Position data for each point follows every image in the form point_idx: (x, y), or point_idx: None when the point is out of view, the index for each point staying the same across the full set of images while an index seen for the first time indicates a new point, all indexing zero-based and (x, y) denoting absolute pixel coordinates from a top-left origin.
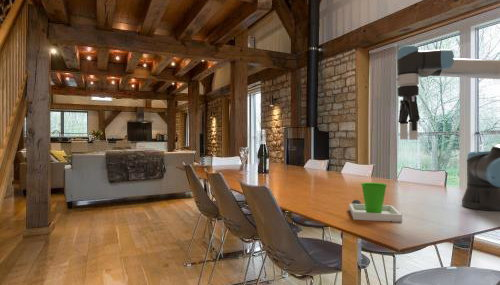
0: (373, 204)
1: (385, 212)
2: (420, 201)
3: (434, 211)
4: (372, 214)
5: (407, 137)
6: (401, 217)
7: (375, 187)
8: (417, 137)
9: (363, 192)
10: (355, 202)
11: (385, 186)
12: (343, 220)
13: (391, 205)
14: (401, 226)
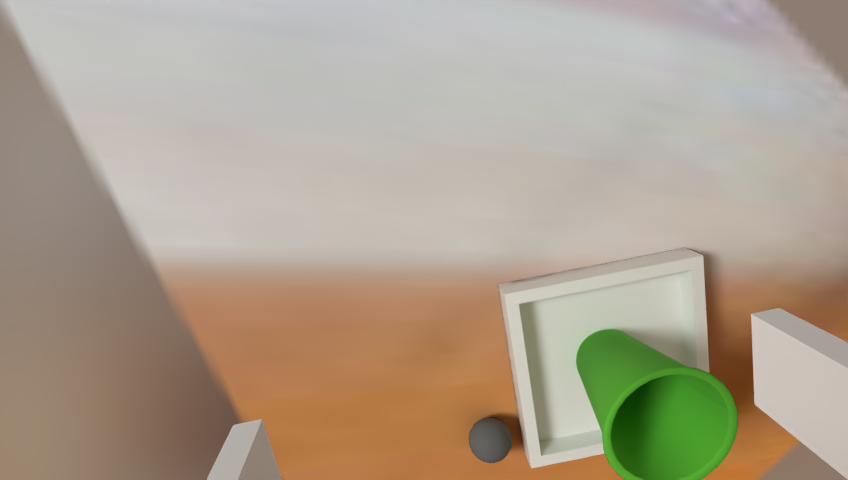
0: (664, 377)
1: (560, 312)
2: (138, 133)
3: (411, 90)
4: (706, 362)
5: (257, 439)
6: (696, 254)
7: (727, 415)
8: (803, 322)
9: (659, 449)
10: (509, 448)
11: (694, 371)
12: None
13: (510, 297)
14: (752, 250)
